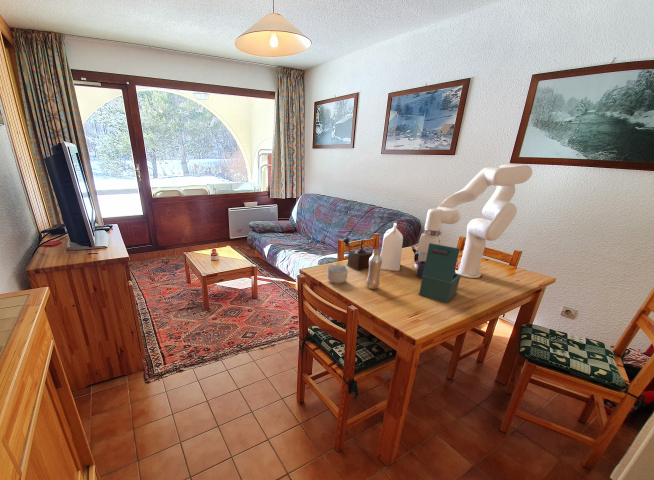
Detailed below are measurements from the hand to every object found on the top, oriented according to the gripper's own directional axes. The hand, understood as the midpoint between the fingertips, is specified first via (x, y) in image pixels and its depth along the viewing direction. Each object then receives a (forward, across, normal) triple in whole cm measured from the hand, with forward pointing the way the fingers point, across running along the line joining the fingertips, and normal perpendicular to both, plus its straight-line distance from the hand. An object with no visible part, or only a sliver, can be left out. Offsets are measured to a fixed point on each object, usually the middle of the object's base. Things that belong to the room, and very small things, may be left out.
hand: (424, 263), depth 169 cm
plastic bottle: (+9, +13, +33) cm, 37 cm away
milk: (+8, +21, -3) cm, 22 cm away
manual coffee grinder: (+9, +35, +12) cm, 38 cm away
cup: (+8, 0, 0) cm, 8 cm away
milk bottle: (+8, +5, -14) cm, 17 cm away
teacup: (+9, +32, +38) cm, 50 cm away
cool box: (+8, -14, +18) cm, 24 cm away
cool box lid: (-10, -14, +25) cm, 30 cm away
